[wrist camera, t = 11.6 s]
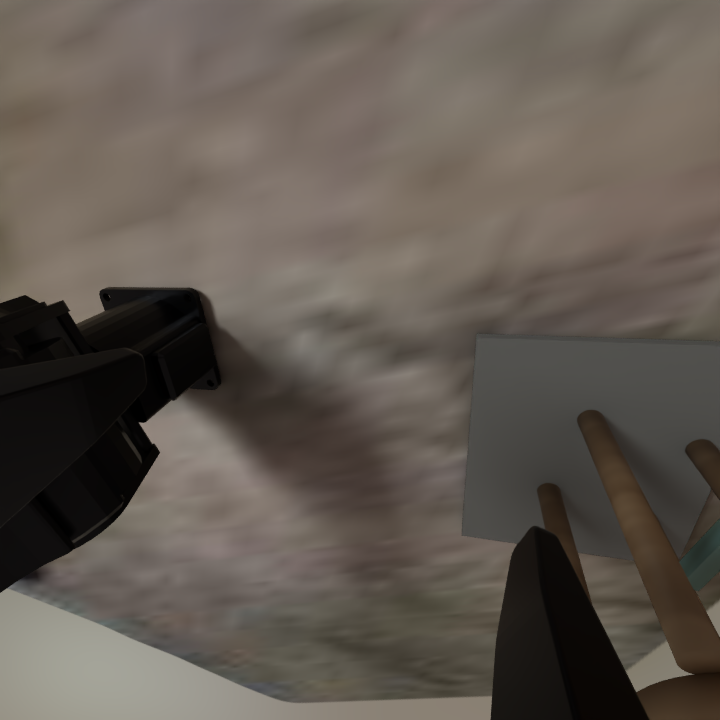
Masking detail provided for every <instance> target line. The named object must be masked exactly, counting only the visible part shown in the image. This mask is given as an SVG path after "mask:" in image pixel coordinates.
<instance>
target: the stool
mask: <svg viewBox="0 0 720 720" xmlns="http://www.w3.org/2000/svg"><path fill="white" fill-rule="evenodd" d="M577 423H578V425H579V428H580V430H581V433H582V435H583V437H584V440H585V442H586V445H587V447H588V450H589V452H590V454H591V457H592V459H593V462H594V464H595V467H596V469H597V471H598V474H599V476H600V479H601V481H602V484H603V486H604V488H605V491H606V493H607V496H608V498H609V500H610V503H611V505H612V508H613V510H614V513H615V515H616V517H617V520H618V522H619V525H620V527H621V530H622V532H623V534H624V537H625V539H626V542H627V544H628V547H629V549H630V551H631V554H632V556H633V559H634V561H635V564H636V566H637V568H638V571H639V573H640V576H641V578H642V580H643V583H644V585H645V588H646V590H647V593H648V595H649V597H650V600H651V602H652V605H653V607H654V610H655V612H656V614H657V617H658V619H659V622H660V624H661V627H662V629H663V631H664V634H665V636H666V639H667V641H668V643H669V646H670V648H671V650H672V653H673V655H674V658H675V660H676V663H677V665H678V666H679V667H680V668H681V669H682V670H684V671H686V672H688V673H692V674H695V675H688V676H682V677H677V678H672V679H668V680H664V681H661V682H658V683H655V684H653V685H650V686H648V687H646V688H644V689H642V690H640V691H638V692H636V693H637V695H638V697H639V699H640V701H641V703H642V705H643V707H644V709H645V711H646V713H647V715H648V717H649V719H650V720H720V637H719V635H718V633H717V631H716V630H715V628H714V626H713V624H712V622H711V620H710V618H709V616H708V614H707V612H706V610H705V608H704V607H703V605H702V603H701V601H700V599H699V597H698V595H697V593H696V591H699V590H700V589H701V588H702V587H704V586H705V585H706V584H707V583H708V582H709V581H710V580H711V579H712V578H713V577H714V576H715V575H716V574H717V573H718V572H719V571H720V519H719V520H718V521H717V522H716V523H715V524H714V525H713V526H712V527H711V528H710V529H709V530H708V531H707V532H706V534H705V535H704V536H703V537H702V538H701V539H700V540H699V541H698V542H697V543H696V544H695V545H694V546H693V547H692V548H691V549H690V551H689V552H688V553H687V554H686V555H685V556H684V557H683V558H682V559H681V560H680V561H679V559H678V557H677V555H676V553H675V551H674V549H673V547H672V545H671V543H670V542H669V540H668V538H667V536H666V534H665V532H664V530H663V528H662V526H661V524H660V522H659V520H658V519H657V517H656V515H655V514H654V513H653V511H652V509H651V507H650V505H649V503H648V501H647V499H646V497H645V495H644V493H643V491H642V489H641V488H640V486H639V484H638V482H637V480H636V478H635V476H634V474H633V472H632V470H631V468H630V466H629V465H628V463H627V461H626V459H625V457H624V455H623V453H622V451H621V449H620V447H619V445H618V443H617V441H616V440H615V438H614V436H613V434H612V432H611V430H610V428H609V426H608V424H607V422H606V420H605V418H604V416H603V415H602V413H600V412H599V411H596V410H586V411H584V412H582V413H581V414H580V415H579V416H578V418H577ZM685 453H686V454H687V456H688V457H689V459H690V460H691V461H692V463H693V464H694V465H695V467H696V468H697V470H698V471H699V472H700V474H701V475H702V476H703V478H704V479H705V481H706V482H707V483H708V485H709V486H710V487H711V489H712V490H713V491H714V493H715V494H716V496H717V497H718V498H719V500H720V451H719V450H718V448H717V447H716V446H715V445H714V444H713V443H712V442H711V441H709V440H706V439H699V440H695V441H692V442H690V443H689V444H688V445H687V446H686V448H685ZM537 493H538V498H539V503H540V507H541V512H542V517H543V521H544V526H545V530H548V531H550V532H552V533H554V534H555V535H556V536H557V537H558V538H559V540H560V542H561V544H562V546H563V548H564V550H565V552H566V554H567V556H568V558H569V560H570V562H571V564H572V566H573V568H574V570H575V572H576V574H577V576H578V578H579V580H580V582H581V584H582V586H583V588H584V590H585V592H586V594H587V596H588V598H589V600H590V602H591V599H590V595H589V592H588V588H587V584H586V581H585V577H584V574H583V570H582V567H581V563H580V559H579V556H578V552H577V549H576V545H575V542H574V538H573V534H572V531H571V527H570V524H569V520H568V517H567V513H566V509H565V506H564V502H563V499H562V495H561V492H560V488H559V487H558V486H557V485H555V484H552V483H544V484H542V485H540V486H539V487H538V489H537ZM695 590H696V591H695ZM591 604H592V602H591Z"/></svg>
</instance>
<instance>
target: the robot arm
mask: <svg viewBox="0 0 720 720" xmlns="http://www.w3.org/2000/svg"><path fill="white" fill-rule="evenodd" d="M99 295H100V299H101V302H102V304H103V307H104V310H105V311H104V312H102V313H100V314H98V315H95V316H93V317H91V318H89V319H86V320H84V321H82V322H80V323H78V324H75V322H74V321H73V319H72V317H71V316H70V314H69V313H68V312H69V311H70V310H69V309H68V307H67V305H66V304H65V302H64V301H63V300H62V301H59V302H56V303H53V304H50V305H48V306H47V305H46V303H45V302H41V303H39V302H37V301H35V300H33V299H31V298H30V297H28V296H26V295H24V296H21V297H18V298H15V299H12V300H9V301H6V302H3V303H0V593H1V592H2V591H3V590H5V589H6V588H8V587H9V586H11V585H12V584H14V583H15V582H16V581H18V580H20V579H21V578H23V577H25V576H26V575H28V574H30V573H31V572H33V571H34V570H36V569H38V568H39V567H41V566H43V565H45V564H47V563H49V562H51V561H53V560H55V559H57V558H59V557H62V556H64V555H66V554H68V553H69V552H71V551H72V550H73V549H75V548H77V547H80V546H81V545H83V544H85V543H86V542H88V541H90V540H91V539H93V538H94V537H95V536H97V535H98V534H100V533H101V532H102V531H104V530H105V529H106V528H107V527H108V526H109V525H111V524H112V523H113V522H114V521H115V520H116V519H117V518H118V517H119V516H120V515H121V513H122V512H123V511H124V509H125V508H126V507H127V505H128V504H129V502H130V500H131V499H132V497H133V495H134V494H135V492H136V491H137V489H138V487H139V486H140V484H141V482H142V481H143V479H144V478H145V476H146V474H147V473H148V471H149V470H150V468H151V466H152V465H153V463H154V461H155V460H156V458H157V457H158V455H159V453H160V452H159V450H158V448H157V447H156V445H155V444H152V443H151V441H150V440H149V438H148V436H147V435H146V433H145V432H144V430H143V429H142V427H141V425H140V424H139V422H142V423H144V422H147V421H148V420H149V419H150V418H151V417H152V416H154V415H155V414H156V413H157V412H158V411H160V410H161V409H162V408H163V407H164V406H165V405H167V404H168V403H169V402H170V401H171V400H176V399H177V398H178V397H180V396H181V395H182V394H183V393H184V392H185V391H187V390H188V389H189V388H193V389H206V390H215V389H217V388H218V387H219V386H220V384H221V379H220V375H219V371H218V367H217V362H216V358H215V354H214V350H213V346H212V342H211V338H210V334H209V330H208V327H207V324H206V320H205V316H204V312H203V308H202V304H201V301H200V297H199V294H198V293H197V291H196V290H194V289H193V288H141V287H108V288H105V289H102V290H101V291H100V293H99ZM188 295H189V296H190V297H191V299H192V300H190V299H189V298H188ZM109 296H110V297H109ZM211 380H212V381H213V382H214V383H212V382H211ZM491 720H650V719H649V717H648V715H647V713H646V711H645V709H644V707H643V705H642V703H641V701H640V699H639V697H638V695H637V693H636V691H635V689H634V687H633V685H632V683H631V681H630V679H629V677H628V675H627V673H626V671H625V669H624V667H623V665H622V663H621V661H620V659H619V657H618V655H617V653H616V651H615V649H614V647H613V645H612V643H611V641H610V639H609V637H608V635H607V633H606V631H605V630H604V628H603V626H602V624H601V622H600V620H599V618H598V616H597V614H596V612H595V610H594V608H593V606H592V604H591V602H590V600H589V598H588V596H587V594H586V592H585V590H584V588H583V586H582V584H581V582H580V580H579V578H578V576H577V574H576V572H575V570H574V568H573V566H572V564H571V562H570V560H569V558H568V556H567V554H566V552H565V550H564V548H563V546H562V544H561V542H560V540H559V538H558V537H557V536H556V535H555V534H554V533H552V532H550V531H548V530H545V529H543V528H541V527H539V526H532V527H531V528H530V529H529V530H528V531H527V533H526V534H525V535H524V536H523V538H522V539H521V540H520V542H519V543H518V544H517V546H516V547H515V549H514V551H513V553H512V556H511V560H510V566H509V571H508V577H507V582H506V588H505V593H504V599H503V604H502V610H501V615H500V621H499V626H498V632H497V639H496V649H495V662H494V677H493V692H492V707H491Z"/></svg>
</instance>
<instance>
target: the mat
mask: <svg viewBox="0 0 720 720" xmlns="http://www.w3.org/2000/svg"><path fill="white" fill-rule="evenodd" d="M586 410H596V411H599V412H600V413H602V415H603V416H604V418H605V420H606V422H607V424H608V426H609V428H610V430H611V432H612V434H613V436H614V438H615V440H616V441H617V443H618V445H619V447H620V449H621V451H622V453H623V455H624V457H625V459H626V461H627V463H628V465H629V466H630V468H631V470H632V472H633V474H634V476H635V478H636V480H637V482H638V484H639V486H640V488H641V489H642V491H643V493H644V495H645V497H646V499H647V501H648V503H649V505H650V507H651V509H652V511H653V513H654V514H655V515H656V517H657V519H658V520H659V522H660V524H661V526H662V528H663V530H664V532H665V534H666V536H667V538H668V540H669V542H670V543H671V545H672V547H673V549H674V551H675V553H676V555H677V557H678V559H680V557H681V555H682V553H683V551H684V548H685V546H686V544H687V542H688V540H689V537H690V535H691V533H692V531H693V529H694V526H695V524H696V522H697V520H698V518H699V515H700V513H701V511H702V509H703V507H704V504H705V502H706V500H707V498H708V496H709V493H710V491H711V487H710V486H709V485H708V483H707V482H706V481H705V479H704V478H703V476H702V475H701V474H700V472H699V471H698V470H697V468H696V467H695V465H694V464H693V463H692V461H691V460H690V459H689V457H688V456H687V454H686V453H685V448H686V446H687V445H688V444H689V443H690V442H692V441H695V440H699V439H706V440H709V441H711V442H712V443H713V444H714V445H715V446H716V447H717V448H718V450H719V451H720V341H691V340H660V339H628V338H597V337H565V336H534V335H502V334H477V336H476V349H475V363H474V376H473V389H472V402H471V416H470V429H469V442H468V455H467V469H466V482H465V495H464V508H463V522H462V536H468V537H475V538H482V539H489V540H496V541H502V542H509V543H516V544H518V543H519V542H520V540H521V539H522V538H523V536H524V535H525V534H526V533H527V531H528V530H529V529H530V528H531V527H532V526H539V527H541V528H543V529H545V526H544V521H543V517H542V512H541V507H540V503H539V498H538V493H537V489H538V487H539V486H540V485H542V484H544V483H552V484H555V485H557V486H558V487H559V488H560V492H561V495H562V499H563V502H564V506H565V509H566V513H567V517H568V520H569V524H570V527H571V531H572V534H573V538H574V542H575V545H576V549H577V552H578V553H585V554H591V555H598V556H605V557H612V558H619V559H626V560H632V561H634V559H633V556H632V554H631V551H630V549H629V547H628V544H627V542H626V539H625V537H624V534H623V532H622V530H621V527H620V525H619V522H618V520H617V517H616V515H615V513H614V510H613V508H612V505H611V503H610V500H609V498H608V496H607V493H606V491H605V488H604V486H603V484H602V481H601V479H600V476H599V474H598V471H597V469H596V467H595V464H594V462H593V459H592V457H591V454H590V452H589V450H588V447H587V445H586V442H585V440H584V437H583V435H582V433H581V430H580V428H579V425H578V423H577V418H578V416H579V415H580V414H581V413H582V412H584V411H586Z"/></svg>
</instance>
